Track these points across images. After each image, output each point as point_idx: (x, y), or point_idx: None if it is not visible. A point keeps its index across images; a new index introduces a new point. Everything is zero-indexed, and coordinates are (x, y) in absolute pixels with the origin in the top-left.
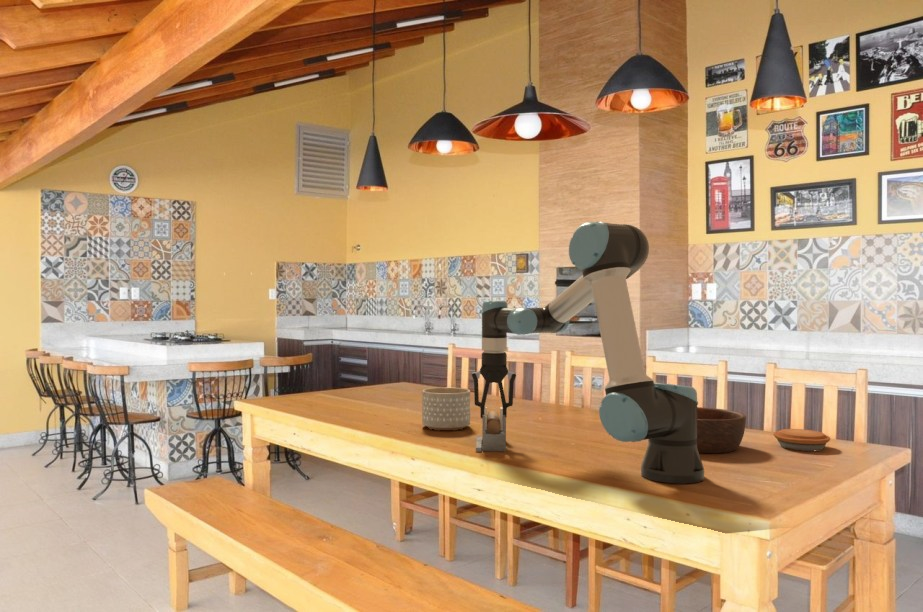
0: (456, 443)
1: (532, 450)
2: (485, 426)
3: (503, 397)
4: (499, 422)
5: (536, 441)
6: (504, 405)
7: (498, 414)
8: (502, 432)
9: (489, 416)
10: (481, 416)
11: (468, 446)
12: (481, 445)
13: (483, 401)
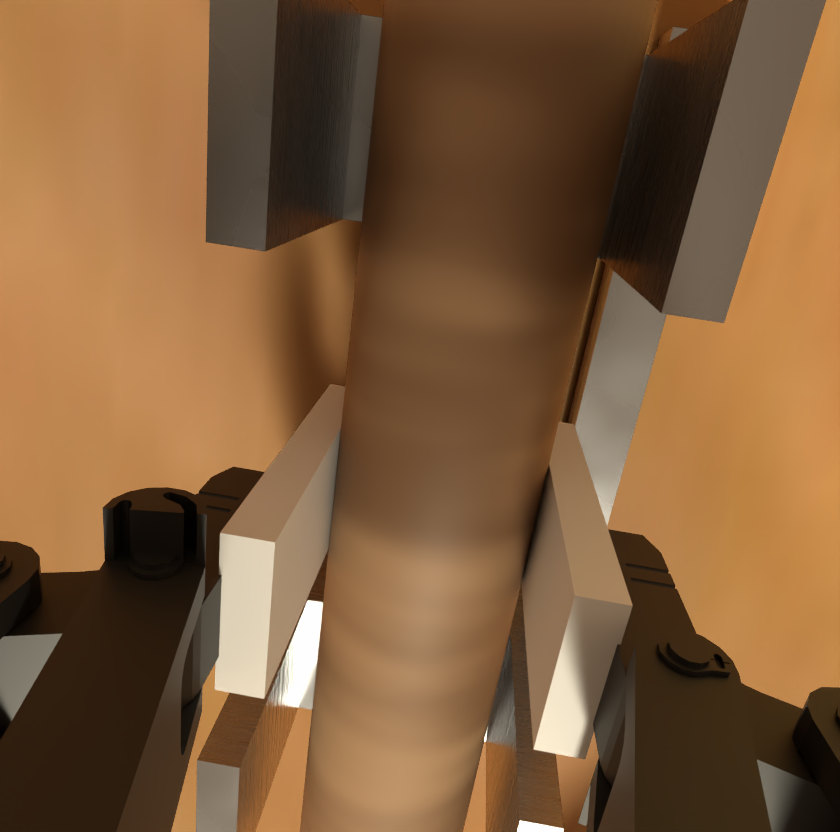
0: (803, 519)
1: (71, 85)
2: (562, 438)
3: (55, 737)
4: (381, 123)
5: (35, 507)
6: (150, 571)
7: (311, 796)
8: (355, 157)
9: (490, 576)
10: (644, 549)
11: (722, 366)
12: (600, 304)
13: (697, 749)
